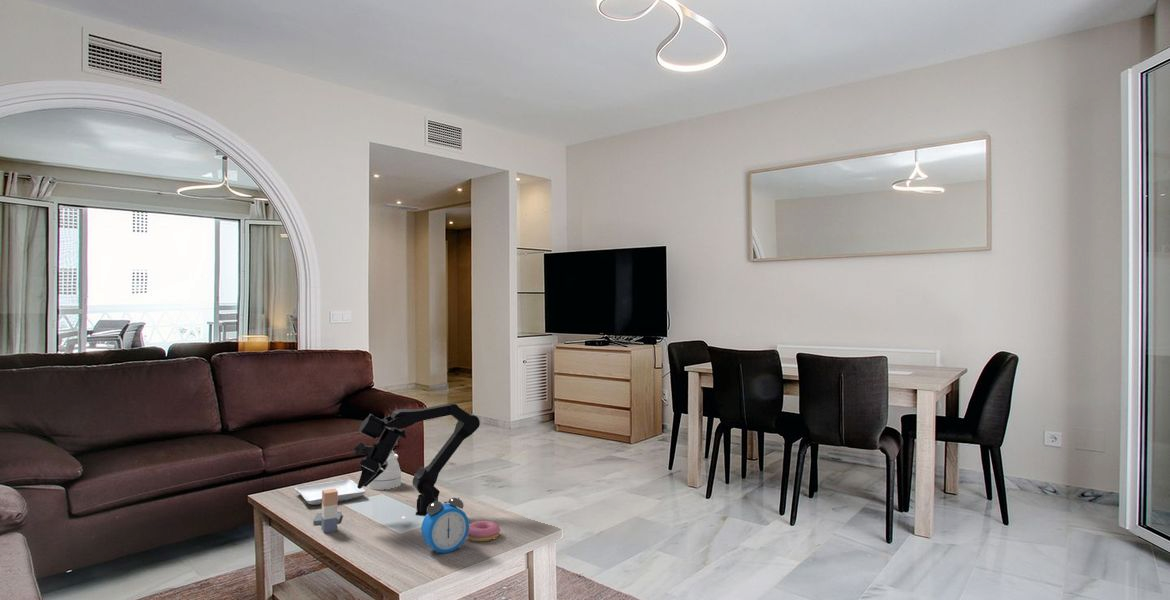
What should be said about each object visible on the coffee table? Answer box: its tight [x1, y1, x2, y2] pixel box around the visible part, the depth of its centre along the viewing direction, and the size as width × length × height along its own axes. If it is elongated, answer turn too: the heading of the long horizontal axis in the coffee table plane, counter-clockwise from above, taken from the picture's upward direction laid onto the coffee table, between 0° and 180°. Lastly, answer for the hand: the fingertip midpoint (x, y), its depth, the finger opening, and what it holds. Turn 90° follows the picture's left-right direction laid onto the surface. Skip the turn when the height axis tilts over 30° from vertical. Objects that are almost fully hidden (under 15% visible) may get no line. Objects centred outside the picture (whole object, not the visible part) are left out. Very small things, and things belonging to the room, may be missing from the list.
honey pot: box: [367, 450, 402, 491], centre depth 254 cm, size 13×13×18 cm
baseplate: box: [312, 511, 343, 525], centre depth 212 cm, size 8×8×1 cm
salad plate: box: [294, 479, 366, 506], centre depth 238 cm, size 21×21×3 cm
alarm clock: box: [420, 497, 470, 556], centre depth 187 cm, size 13×6×15 cm, turn 128°
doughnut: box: [466, 520, 501, 542], centre depth 199 cm, size 11×11×4 cm
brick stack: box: [320, 489, 339, 533], centre depth 203 cm, size 4×4×13 cm
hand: (361, 487), depth 210 cm, fingers open, 9 cm apart
